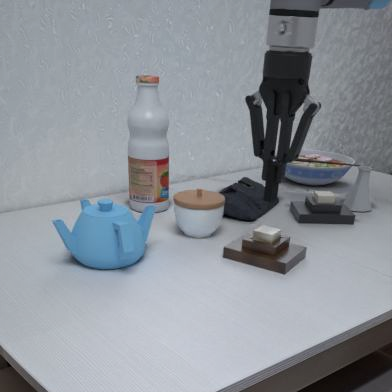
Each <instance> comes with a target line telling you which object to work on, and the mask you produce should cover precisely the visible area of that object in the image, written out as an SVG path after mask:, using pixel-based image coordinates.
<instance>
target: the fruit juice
mask: <svg viewBox="0 0 392 392" xmlns="http://www.w3.org/2000/svg"><path fill="white" fill-rule="evenodd" d="M135 84H136V86H137V92H136V98H135V100H134V103H133V106H132V108H131V109H130V111H129V112H128V114H127V120H126V122H127V123H126V124H127V128H128V132H129V139H128V142H127V169H128V196H129V206H130V209H132V211H136V212H139V213H143V211H144V209H145V208H146V206H148V205H154V206H155V207H156V209H155V213H161V212H164V211H167V209H169V205H170V144H169V141H168V137H167V135H168V130H169V126H170V123H169V116H168V114H167V112H166V110H165V109H164V108H163V105H162V104H161V103H162V102H161V100H160V96H159V91H158V90H159V88H158V87H159V85H160V76H159V75H152V74H151V75H150V74H139V75H138V74H137V75H136V76H135Z"/></svg>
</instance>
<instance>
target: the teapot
mask: <svg viewBox="0 0 392 392" xmlns="http://www.w3.org/2000/svg"><path fill="white" fill-rule="evenodd" d="M79 202H80V208H81V212H80V213H79V215H78V217H77V219H76V220H75V223H74V225H73V227H72V230H70V229H69V228H68V226H67V225H66V224H65V222H64V220H63V219H62V218H58V219H53V220H51V221H52V224H53V226H54V228H55V230H56V232H57V234H58V235H59V237H60V239H61V241H62V243H63V245H64V246H65V248H66V250H67V251H68V252H69V253H71V255H72V256H73V257H74V258H75V259H76V260H77V261H78V262H79V263H80V264H82V265H83V266H86V267H88V268H92V269H98V270H116V269H122V268H123V269H124V268H127V267H129V266H132V265H134V264H135V263H137V262H138V261H139V260H140V259H141V257H142V256H143V255H144V253H145V251H146V242H147V241H148V237H149V233H150V230H151V226H152V223H153V220H154V216H155V213H156V212H155V209H156V207H155V206H154V205H148V206H146V208H145V209H144V211H143V212H141V214H140V216H139V218H138V219H136V217H135V215H134V214H133V213H132V211H131V210H130V209H129V208H128V207H126V206H125V205H123V204H118V203H114V200H113V199H110V198H100V199H98V200H97V201H96V202H97V203H95V204H92V203H91V202H90V200H89V199H87V198H84V199H79Z"/></svg>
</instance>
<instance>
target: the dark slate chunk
mask: <svg viewBox="0 0 392 392" xmlns="http://www.w3.org/2000/svg"><path fill="white" fill-rule="evenodd" d="M264 191H265V185H263V184H262V183H260V182H258V181H255V180H252V179H251V178H249V177H247V176H243V177H242V178H241V179H239V180H237V182H233V183H232V184H230V185H228V186H226V187H224V188H223V189H222V190H220V191H219V192H218V193H219V194H222V195H223V196H224V197H225V204H224V213H223V216H228V217H231V218H235V219H238V220H240V221H245V222H246V221H247V222H250V221H251V222H252V221H255V220H257V219H259V218H261V217H262V216H264V215H265V214H267V213H268V212H270V210H272V209H273V208H274V207H276V206H277V204H278V203H279V202H280V199H279V197H278V196H277V199H276V200H274V201H272V202H267V201H263V199H264Z"/></svg>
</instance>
